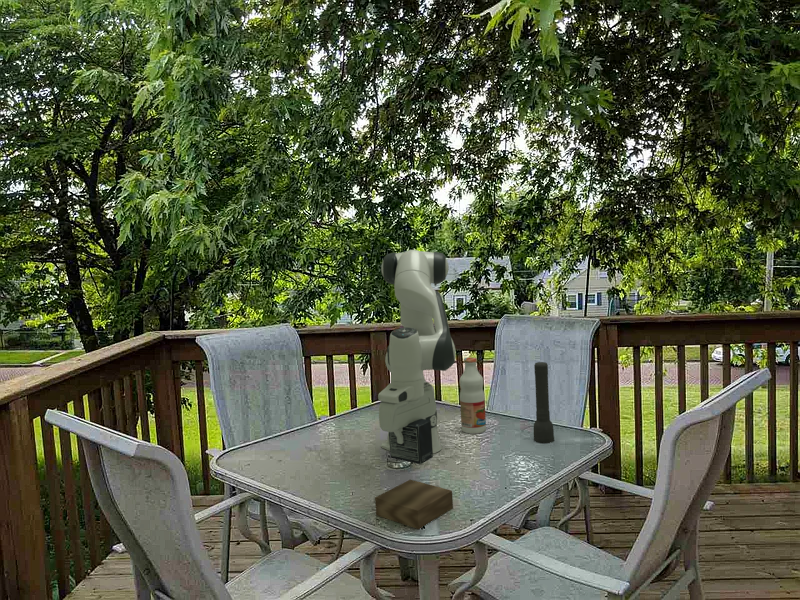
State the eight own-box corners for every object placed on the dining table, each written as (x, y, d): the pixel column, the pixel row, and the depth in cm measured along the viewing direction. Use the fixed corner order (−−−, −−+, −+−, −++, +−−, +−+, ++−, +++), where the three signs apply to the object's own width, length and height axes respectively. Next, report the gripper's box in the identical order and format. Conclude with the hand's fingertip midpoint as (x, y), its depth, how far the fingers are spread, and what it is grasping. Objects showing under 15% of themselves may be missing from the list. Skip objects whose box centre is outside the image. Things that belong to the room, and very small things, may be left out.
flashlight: (556, 442, 218) (551, 436, 225) (553, 364, 215) (548, 360, 222) (536, 443, 218) (531, 437, 225) (533, 365, 215) (528, 361, 222)
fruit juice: (463, 426, 243) (460, 356, 241) (487, 426, 241) (484, 356, 238) (459, 433, 234) (455, 361, 232) (484, 434, 232) (480, 361, 229)
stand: (376, 515, 168) (374, 497, 168) (411, 496, 180) (410, 479, 179) (418, 529, 159) (417, 510, 158) (453, 508, 170) (452, 490, 170)
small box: (434, 456, 167) (432, 419, 166) (420, 465, 162) (418, 426, 161) (403, 450, 174) (401, 414, 173) (389, 458, 169) (386, 421, 167)
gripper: (422, 379, 176) (425, 426, 177) (373, 396, 161) (376, 447, 162) (440, 381, 172) (442, 430, 173) (391, 399, 156) (395, 452, 158)
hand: (410, 438), depth 167 cm, fingers closed on small box, 6 cm apart
